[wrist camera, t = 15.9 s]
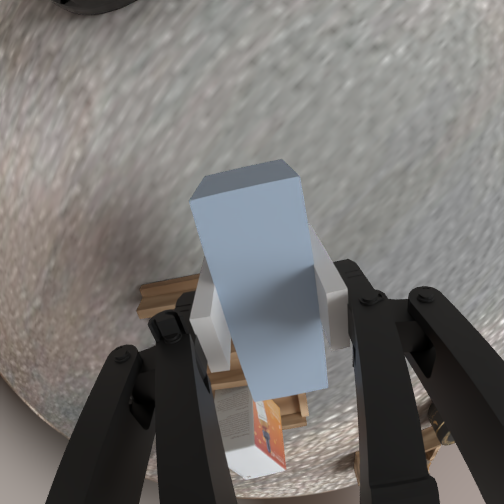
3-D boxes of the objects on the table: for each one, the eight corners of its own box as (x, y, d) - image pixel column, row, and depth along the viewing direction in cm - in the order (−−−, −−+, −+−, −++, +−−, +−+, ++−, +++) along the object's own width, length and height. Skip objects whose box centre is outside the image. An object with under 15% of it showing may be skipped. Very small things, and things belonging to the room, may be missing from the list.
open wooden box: (355, 452, 48) (361, 472, 43) (433, 425, 47) (441, 443, 43) (353, 467, 51) (358, 486, 47) (425, 443, 50) (432, 460, 46)
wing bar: (251, 343, 20) (254, 401, 15) (204, 176, 15) (188, 200, 11) (311, 331, 20) (328, 387, 15) (282, 159, 15) (299, 176, 11)
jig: (141, 285, 32) (132, 302, 29) (281, 257, 31) (286, 273, 28) (208, 423, 42) (206, 441, 39) (307, 409, 41) (311, 427, 38)
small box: (280, 407, 39) (287, 471, 29) (244, 418, 40) (245, 481, 30) (252, 374, 36) (255, 445, 26) (213, 388, 37) (208, 456, 27)
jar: (433, 391, 42) (451, 423, 35) (476, 374, 42) (495, 402, 35) (419, 423, 46) (433, 452, 39) (460, 407, 46) (475, 434, 39)
